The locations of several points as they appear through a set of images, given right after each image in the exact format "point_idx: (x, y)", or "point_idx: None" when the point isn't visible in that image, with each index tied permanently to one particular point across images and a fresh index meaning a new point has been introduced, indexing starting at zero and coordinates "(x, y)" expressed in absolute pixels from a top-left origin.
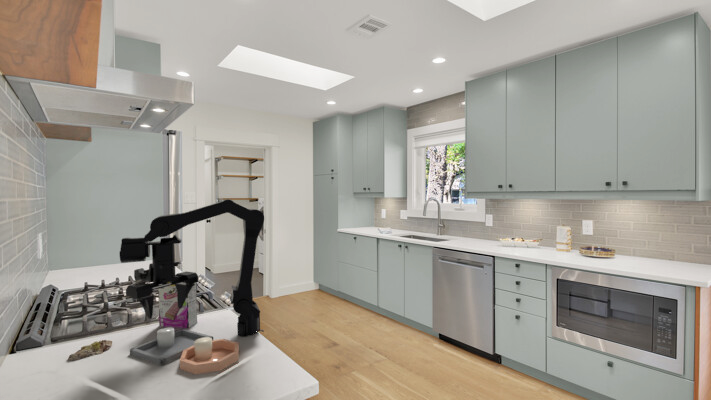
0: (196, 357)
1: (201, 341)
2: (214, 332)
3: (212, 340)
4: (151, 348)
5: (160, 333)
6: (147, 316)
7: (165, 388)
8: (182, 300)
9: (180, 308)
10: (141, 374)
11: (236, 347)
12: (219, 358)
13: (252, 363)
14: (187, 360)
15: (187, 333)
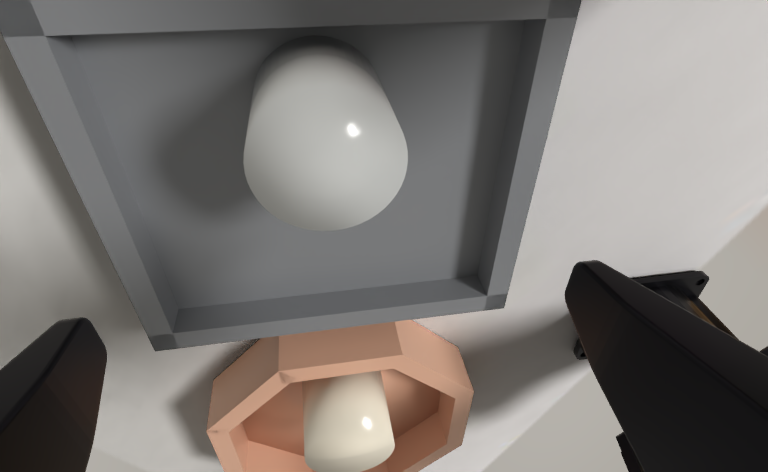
0: (302, 393)
1: (338, 455)
2: (642, 150)
3: (436, 374)
4: (211, 48)
5: (254, 194)
6: (35, 347)
7: (114, 431)
8: (627, 433)
9: (566, 296)
10: (52, 293)
11: (421, 464)
12: None
13: None
14: (228, 449)
15: (522, 99)
